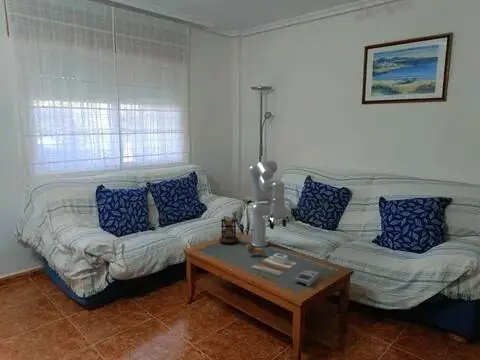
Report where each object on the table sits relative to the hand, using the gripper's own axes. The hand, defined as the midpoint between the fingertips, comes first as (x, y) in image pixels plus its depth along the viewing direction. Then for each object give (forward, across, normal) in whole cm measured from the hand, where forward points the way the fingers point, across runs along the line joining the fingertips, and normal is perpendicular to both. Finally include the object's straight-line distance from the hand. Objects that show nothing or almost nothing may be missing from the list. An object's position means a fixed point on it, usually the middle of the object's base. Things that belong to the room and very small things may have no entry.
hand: (278, 227), depth 219 cm
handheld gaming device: (+25, 0, +28) cm, 38 cm away
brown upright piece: (+24, +7, -54) cm, 60 cm away
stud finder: (+23, -2, 0) cm, 23 cm away
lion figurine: (+24, +6, -16) cm, 30 cm away
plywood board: (+24, +5, +3) cm, 25 cm away
